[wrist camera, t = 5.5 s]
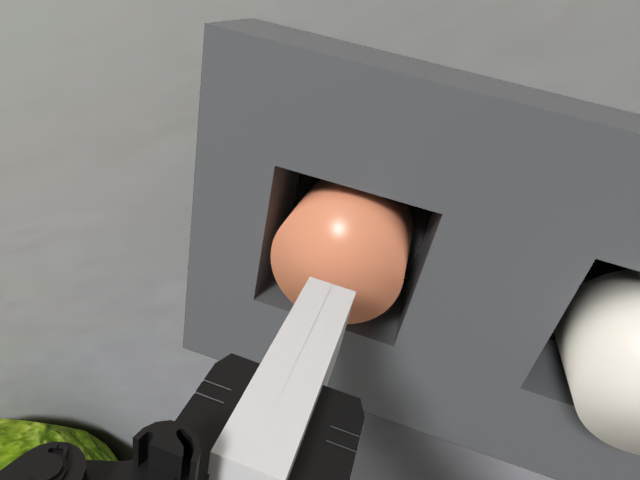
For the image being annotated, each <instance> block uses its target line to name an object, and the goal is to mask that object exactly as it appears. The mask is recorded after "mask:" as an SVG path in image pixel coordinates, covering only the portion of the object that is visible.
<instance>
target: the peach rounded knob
mask: <svg viewBox="0 0 640 480" xmlns="http://www.w3.org/2000/svg"><path fill="white" fill-rule="evenodd" d="M412 234H413V221H412V215H411V212H410V209H409V207H408V205H407V204H405V203H402V202H398V201H395V200H391V199H388V198H384V197H381V196H378V195H374V194H371V193H367V192H364V191H360V190H357V189H353V188H350V187H347V186H343V185H340V184H336V183H333V182H329V181H326V180H323V179H320V180H319V181H318V182H316V183H315V184H314V185H313V186H312V187H311V188H310V189H309V191H308V192H307V193H306V194H305V196H304V197H303V198H302V200H301V201H300V202H299V203H298V205H297V206H296V207H295V209H294V210H293V211H292V212H291V214H290V215H289V216H288V217H287V219H286V220H285V221H284V223H283V224H282V225H281V226H280V228H279V229H278V231H277V233H276V235H275V237H274V239H273V243H272V247H271V255H270V256H271V266H272V271H273V274H274V277H275V279H276V282H277V284H278V286H279V287H280V289H281V290H282V292H283V293H284V294H285V296H286V297H287V298H288V299H289V300H290V301H291V302H292V303H293V304H295V302H296V300H297V298H298V296H299V295H300V293H301V291H302V289H303V288H304V286H305V284H306V282H307V281H308V279H309V277H313V278H316V279H319V280H322V281H325V282H328V283H331V284H334V285H337V286H340V287H343V288H346V289H350V290H353V291H356V295H355V298H354V301H353V305H352V308H351V312H350V315H349V318H348V322H347V324H356V323H362V322H365V321H369V320H371V319H373V318H376V317H378V316H379V315H381V314H382V313H384V312H385V311H386V310H387V309H389V308H390V307H391V305H392V304H393V303H394V302H395V300H396V299H397V297H398V296H399V293H400V291H401V289H402V285H403V281H404V276H405V271H406V266H407V261H408V256H409V250H410V245H411V240H412Z"/></svg>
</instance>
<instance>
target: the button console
mask: <svg viewBox="0 0 640 480" xmlns="http://www.w3.org/2000/svg"><path fill="white" fill-rule="evenodd" d="M300 173H302V174H305V175H309V176H312V177H316V178H319V179H323V180H326V181H329V182H333V183H336V184H340V185H343V186H347V187H350V188H353V189H357V190H360V191H364V192H367V193H371V194H374V195H378V196H381V197H384V198H388V199H391V200H395V201H398V202H402V203H405V204H409V205H412V206H415V207H419V208H422V209H426V210H429V211H433V212H432V215H431V218H430V220H429V223H428V226H427V229H426V232H425V234H424V237H423V240H422V243H421V246H420V249H419V251H418V254H417V257H416V260H415V263H414V265H413V268H412V271H411V274H410V277H409V279H408V282H407V285H406V288H405V291H404V292H401V291H400V293H399V296H398V297H397V299H396V300H395V302H394V303H393V304H392V305H391V307H390V308H389V309H387V310H386V311H385V312H384V313H382V314H381V315H379V316H378V317H376V318H373V319H371V320H369V321H365V322H362V323H356V324H347V325H346V329H345V332H344V335H343V339H342V342H341V346H340V349H339V353H338V356H337V359H336V362H335V365H334V367H333V370H332V373H331V376H330V378H329V381H328V384H327V387H330V388H333V389H336V390H338V391H341V392H344V393H347V394H349V395H352V396H355V397H358V398H360V399H361V403H362V408H363V411H364V412H366V413H369V414H372V415H375V416H378V417H381V418H383V419H386V420H389V421H392V422H395V423H398V424H400V425H403V426H406V427H409V428H412V429H415V430H417V431H420V432H423V433H426V434H429V435H432V436H434V437H437V438H440V439H443V440H446V441H448V442H451V443H454V444H457V445H460V446H463V447H465V448H468V449H471V450H474V451H477V452H480V453H482V454H485V455H488V456H491V457H494V458H497V459H499V460H502V461H505V462H508V463H511V464H514V465H516V466H519V467H522V468H525V469H528V470H530V471H533V472H536V473H539V474H542V475H545V476H547V477H550V478H553V479H556V480H640V455H637V454H632V453H629V452H626V451H622V450H620V449H617V448H615V447H612V446H610V445H608V444H607V443H605V442H603V441H601V440H600V439H598V438H597V437H596V436H594V435H593V434H592V433H591V432H590V431H589V430H588V429H587V428H586V427H585V426H584V425H583V423H582V422H581V420H580V419H579V417H578V414H577V412H576V409H575V406H574V402H573V399H572V395H571V392H570V388H569V385H568V381H567V378H566V374H565V370H564V367H563V363H562V360H561V356H560V353H559V349H558V346H557V342H556V340H553V339H550V336H551V334H552V333H553V331H554V329H555V328H556V326H557V324H558V322H559V321H560V319H561V317H562V316H563V314H564V312H565V310H566V309H567V307H568V305H569V304H570V302H571V300H572V298H573V297H574V295H575V293H576V292H577V290H578V288H579V286H580V285H581V283H582V281H583V280H584V278H585V276H586V274H587V273H588V271H589V269H590V268H591V266H592V264H593V263H594V261H595V259H598V260H601V261H605V262H608V263H612V264H615V265H619V266H622V267H625V268H629V269H632V270H636V271H639V272H640V115H638V114H634V113H630V112H626V111H622V110H618V109H614V108H610V107H606V106H602V105H598V104H594V103H590V102H586V101H582V100H578V99H574V98H570V97H566V96H562V95H558V94H554V93H550V92H546V91H542V90H538V89H534V88H530V87H526V86H522V85H518V84H514V83H510V82H506V81H502V80H498V79H494V78H490V77H486V76H482V75H477V74H473V73H469V72H465V71H461V70H457V69H453V68H449V67H445V66H441V65H437V64H433V63H429V62H425V61H421V60H417V59H413V58H409V57H405V56H401V55H397V54H393V53H389V52H385V51H381V50H377V49H373V48H369V47H365V46H361V45H357V44H353V43H349V42H345V41H341V40H337V39H333V38H329V37H325V36H321V35H317V34H313V33H309V32H305V31H301V30H297V29H293V28H289V27H285V26H281V25H277V24H273V23H268V22H264V21H260V20H256V19H242V20H232V21H222V22H211V23H205V28H204V43H203V57H202V72H201V87H200V102H199V116H198V131H197V146H196V161H195V175H194V190H193V205H192V219H191V234H190V249H189V264H188V278H187V293H186V308H185V323H184V337H183V348H186V349H188V350H191V351H194V352H197V353H200V354H202V355H205V356H208V357H211V358H214V359H217V360H219V361H220V360H221V359H223V358H224V357H226V356H228V355H229V354H231V353H233V354H235V355H238V356H241V357H244V358H246V359H249V360H252V361H255V362H257V363H261V362H262V360H263V358H264V356H265V355H266V353H267V351H268V349H269V348H270V346H271V344H272V342H273V341H274V339H275V337H276V335H277V333H278V332H279V330H280V328H281V326H282V325H283V323H284V321H285V319H286V318H287V316H288V314H289V312H290V311H291V309H292V307H293V305H294V304H293V303H292V302H291V301H290V300H289V299H288V298H287V297H286V296H285V294H284V293H283V292H282V290H281V289H280V287H279V286H278V284H277V282H276V279H275V277H274V274H273V271H272V266H271V256H270V255H271V247H272V243H273V239H274V237H275V235H276V233H277V231H278V229H279V228H280V226H281V225H282V224H283V223H284V221H285V220H286V219H287V217H288V216H289V215H290V214H291V212H292V211H293V206H294V201H295V195H296V190H297V185H298V180H299V174H300Z"/></svg>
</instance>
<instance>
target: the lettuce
mask: <svg viewBox="0 0 640 480" xmlns="http://www.w3.org/2000/svg"><path fill="white" fill-rule="evenodd" d="M53 441H57V442H69V443H71V444H73V445H75V446H77V447H79V448H80V450H81V451H82V452H83V454H84V455H85V459H86V460H102V461H118V459H117V458H116V457H115V455H114V454H113V453H112V451H111V450H110V449H109V447H108V446H107V445H106V444H105V443H104V442H102V441H100V440H99V439H97V438H96V437H94V436H93V435H91V434H90V433H88V432H87V431H84V430H79V429H75V428H70V427H65V426H59V425H53V424H47V423H41V422H34V421H26V420H15V419H3V418H1V419H0V470H2V469H3V468H4V467H6V466H7V465H8V464H10V463H11V462H13V461H14V460H15V459H17V458H18V457H19V456H21V455H22V454H24V453H25V452H27V451H29V450H31V449H32V448H34V447H36V446H38V445H41V444H45V443H49V442H53Z"/></svg>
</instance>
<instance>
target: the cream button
mask: <svg viewBox="0 0 640 480" xmlns="http://www.w3.org/2000/svg"><path fill="white" fill-rule="evenodd" d="M554 335H555V339H556V342H557V346H558V349H559V353H560V356H561V360H562V363H563V367H564V370H565V374H566V378H567V381H568V385H569V388H570V392H571V395H572V399H573V402H574V406H575V409H576V412H577V414H578V417H579V419H580V420H581V422H582V423H583V425H584V426H585V427H586V428H587V429H588V430H589V431H590V432H591V433H592V434H593V435H594V436H596V437H597V438H598V439H600V440H601V441H603V442H605V443H607V444H608V445H610V446H612V447H615V448H617V449H620V450H622V451H626V452H629V453H632V454H637V455H640V272H639V271H636V270H632V269H630V270H620V271H615V272H610V273H607V274H603V275H600V276H598V277H595V278H593V279H591V280H589V281H587V282H585V283H583V284H582V285H580V286H579V288H578V290H577V292H576V293H575V295H574V297H573V298H572V300H571V302H570V304H569V305H568V307H567V309H566V310H565V312H564V314H563V316H562V317H561V319H560V321H559V322H558V324H557V326H556V328H555V329H554Z"/></svg>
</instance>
